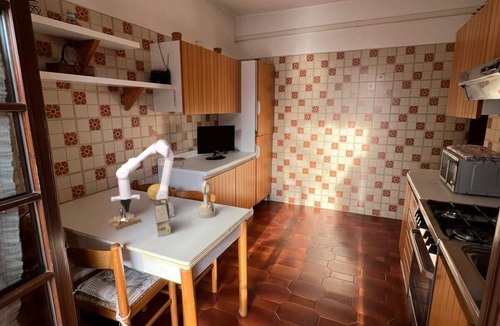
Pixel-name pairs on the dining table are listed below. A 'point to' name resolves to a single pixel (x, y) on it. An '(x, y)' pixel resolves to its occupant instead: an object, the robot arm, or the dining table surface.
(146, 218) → the dining table surface
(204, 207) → the engine component
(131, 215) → the sprocket
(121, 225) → the index board
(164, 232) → the coffee box
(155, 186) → the sculpture
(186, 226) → the dining table surface
